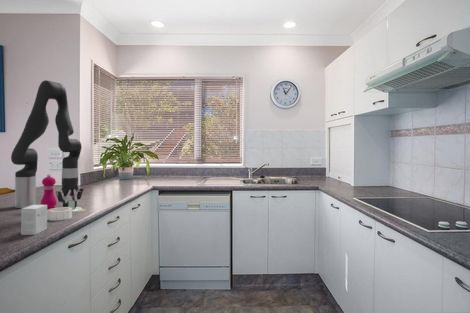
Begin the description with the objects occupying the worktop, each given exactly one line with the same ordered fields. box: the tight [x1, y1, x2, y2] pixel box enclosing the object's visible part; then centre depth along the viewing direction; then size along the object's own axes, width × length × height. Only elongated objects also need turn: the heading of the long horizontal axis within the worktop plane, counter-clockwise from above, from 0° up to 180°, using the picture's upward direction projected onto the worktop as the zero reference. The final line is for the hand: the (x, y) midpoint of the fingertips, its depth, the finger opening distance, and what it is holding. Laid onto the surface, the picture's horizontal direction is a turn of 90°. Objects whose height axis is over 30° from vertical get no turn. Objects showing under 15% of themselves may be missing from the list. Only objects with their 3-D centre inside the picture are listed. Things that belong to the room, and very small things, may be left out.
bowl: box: [47, 206, 73, 222], centre depth 131 cm, size 10×10×5 cm
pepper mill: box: [40, 173, 58, 210], centre depth 147 cm, size 7×7×20 cm
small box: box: [20, 204, 48, 236], centre depth 113 cm, size 8×6×10 cm
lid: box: [67, 199, 83, 214], centre depth 146 cm, size 12×12×5 cm
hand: (69, 208), depth 146 cm, fingers open, 4 cm apart
